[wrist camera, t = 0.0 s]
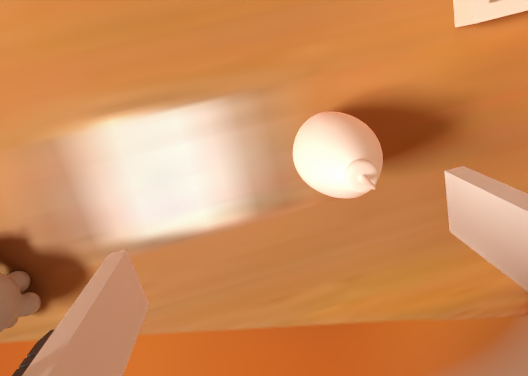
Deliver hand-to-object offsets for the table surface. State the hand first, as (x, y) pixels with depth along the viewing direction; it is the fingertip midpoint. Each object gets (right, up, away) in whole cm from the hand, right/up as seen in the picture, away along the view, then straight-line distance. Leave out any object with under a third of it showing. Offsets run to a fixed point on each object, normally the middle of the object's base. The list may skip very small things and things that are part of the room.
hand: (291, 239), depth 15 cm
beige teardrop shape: (+5, +8, +28) cm, 29 cm away
